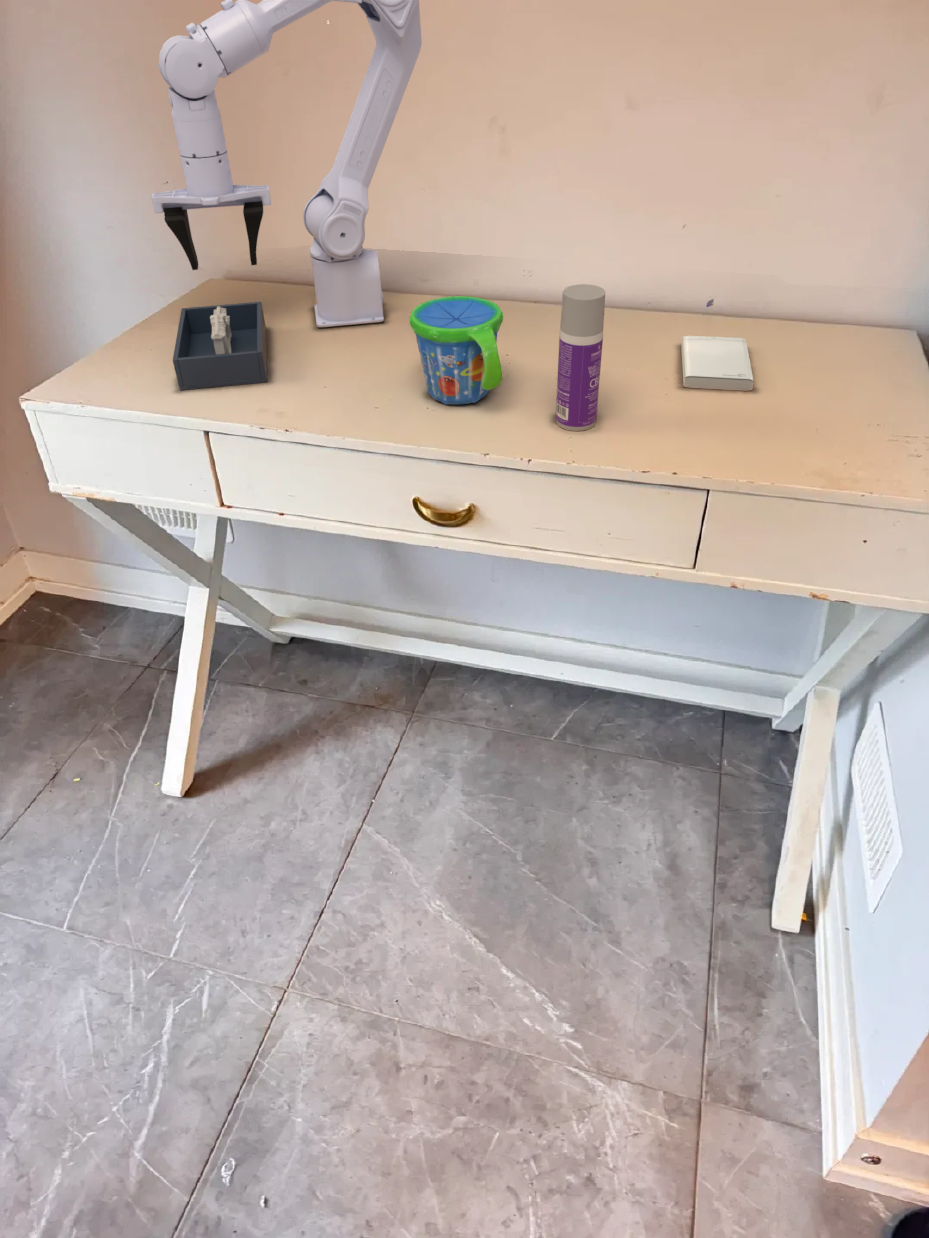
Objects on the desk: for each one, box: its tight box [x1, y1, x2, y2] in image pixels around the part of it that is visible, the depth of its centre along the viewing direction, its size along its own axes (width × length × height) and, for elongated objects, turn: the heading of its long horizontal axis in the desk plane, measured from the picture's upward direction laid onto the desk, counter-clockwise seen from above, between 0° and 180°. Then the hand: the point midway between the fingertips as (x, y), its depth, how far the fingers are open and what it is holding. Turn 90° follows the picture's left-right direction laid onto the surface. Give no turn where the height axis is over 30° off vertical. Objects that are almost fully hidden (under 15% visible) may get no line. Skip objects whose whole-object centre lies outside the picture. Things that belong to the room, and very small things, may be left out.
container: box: [555, 283, 606, 432], centre depth 98 cm, size 5×5×15 cm
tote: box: [172, 300, 268, 391], centre depth 117 cm, size 11×17×4 cm, turn 10°
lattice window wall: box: [210, 306, 232, 354], centre depth 116 cm, size 12×2×6 cm, turn 10°
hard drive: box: [680, 335, 755, 392], centre depth 113 cm, size 2×8×12 cm
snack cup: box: [409, 295, 504, 405], centre depth 106 cm, size 16×10×10 cm
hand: (224, 265), depth 119 cm, fingers open, 7 cm apart
